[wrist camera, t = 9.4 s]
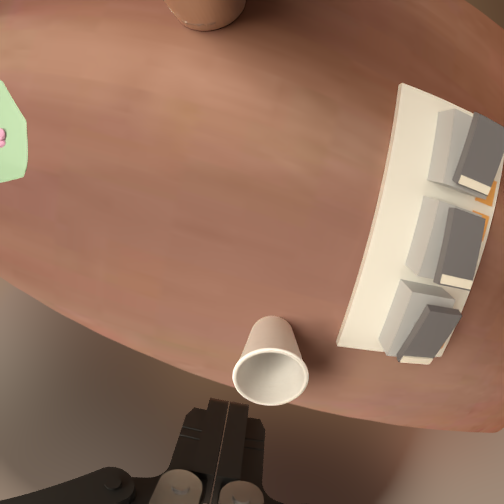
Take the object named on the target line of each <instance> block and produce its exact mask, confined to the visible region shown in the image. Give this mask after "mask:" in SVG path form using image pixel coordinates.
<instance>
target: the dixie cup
mask: <svg viewBox="0 0 504 504" xmlns="http://www.w3.org/2000/svg"><path fill="white" fill-rule="evenodd" d="M308 380H309V372H308V369H307V366H306V364H305V363H304V362H303V360H302V357H301V354H300V351H299V348H298V345H297V342H296V339H295V336H294V333H293V330H292V327H291V325H290V324H289V323H288V322H287V321H286V320H285V319H283V318H281V317H278V316H266V317H263V318H261V319H259V320H258V321H257V322H256V323H255V324H254V326H253V328H252V330H251V332H250V334H249V337H248V340H247V343H246V345H245V347H244V350H243V352H242V355H241V357H240V360H239V361H238V362H237V363H236V365H235V367H234V370H233V383H234V385H235V387H236V389H237V391H238V392H239V393H240V394H241V395H242V396H244V397H245V398H246V399H248V400H250V401H252V402H254V403H257V404H261V405H281V404H284V403H288V402H290V401H292V400H294V399H295V398H297V397H298V396H299V395H301V394H302V392H303V391H304V390H305V388H306V386H307V384H308Z"/></svg>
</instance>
